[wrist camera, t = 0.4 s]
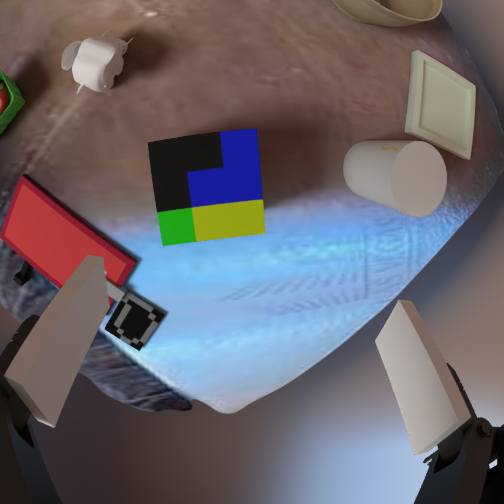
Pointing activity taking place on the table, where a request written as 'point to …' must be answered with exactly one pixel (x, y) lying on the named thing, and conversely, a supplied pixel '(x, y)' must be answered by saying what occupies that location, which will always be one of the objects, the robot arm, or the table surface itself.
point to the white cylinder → (397, 174)
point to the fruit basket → (8, 100)
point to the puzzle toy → (207, 186)
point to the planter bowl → (390, 11)
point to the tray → (440, 106)
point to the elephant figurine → (95, 61)
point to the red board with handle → (73, 257)
